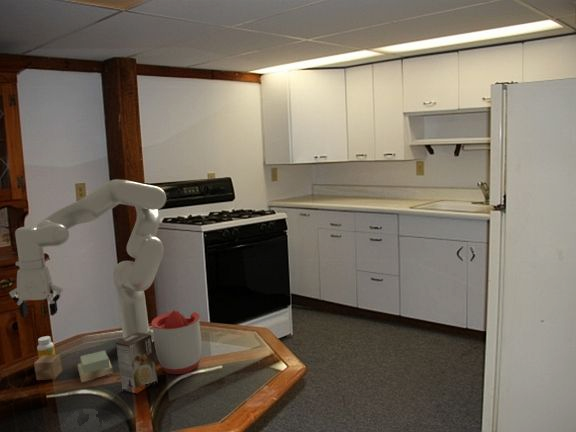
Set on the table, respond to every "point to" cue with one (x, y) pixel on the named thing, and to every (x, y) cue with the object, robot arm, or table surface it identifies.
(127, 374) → the coffee box
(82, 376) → the birch base block
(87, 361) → the sage top block
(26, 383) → the table surface
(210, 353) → the table surface
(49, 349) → the supplement bottle
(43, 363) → the walnut cube
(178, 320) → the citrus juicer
